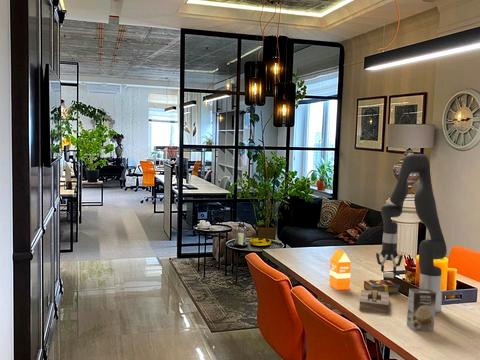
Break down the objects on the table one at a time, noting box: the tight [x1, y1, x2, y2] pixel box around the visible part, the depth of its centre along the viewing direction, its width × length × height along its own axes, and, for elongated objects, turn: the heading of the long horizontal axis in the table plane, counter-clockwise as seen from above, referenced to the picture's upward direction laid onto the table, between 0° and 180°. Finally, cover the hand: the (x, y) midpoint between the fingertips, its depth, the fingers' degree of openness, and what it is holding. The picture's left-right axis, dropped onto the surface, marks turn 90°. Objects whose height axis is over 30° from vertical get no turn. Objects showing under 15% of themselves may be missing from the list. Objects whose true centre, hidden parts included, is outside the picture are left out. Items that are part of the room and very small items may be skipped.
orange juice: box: [329, 248, 352, 291], centre depth 254 cm, size 8×9×20 cm
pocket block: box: [358, 289, 390, 314], centre depth 227 cm, size 20×13×4 cm, turn 163°
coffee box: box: [406, 288, 436, 332], centre depth 198 cm, size 9×6×16 cm
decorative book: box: [363, 279, 401, 295], centre depth 250 cm, size 11×16×5 cm
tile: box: [382, 271, 395, 279], centre depth 250 cm, size 10×5×2 cm, turn 163°
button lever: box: [372, 290, 377, 302], centre depth 229 cm, size 10×2×4 cm, turn 163°
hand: (388, 272), depth 253 cm, fingers closed on tile, 5 cm apart
